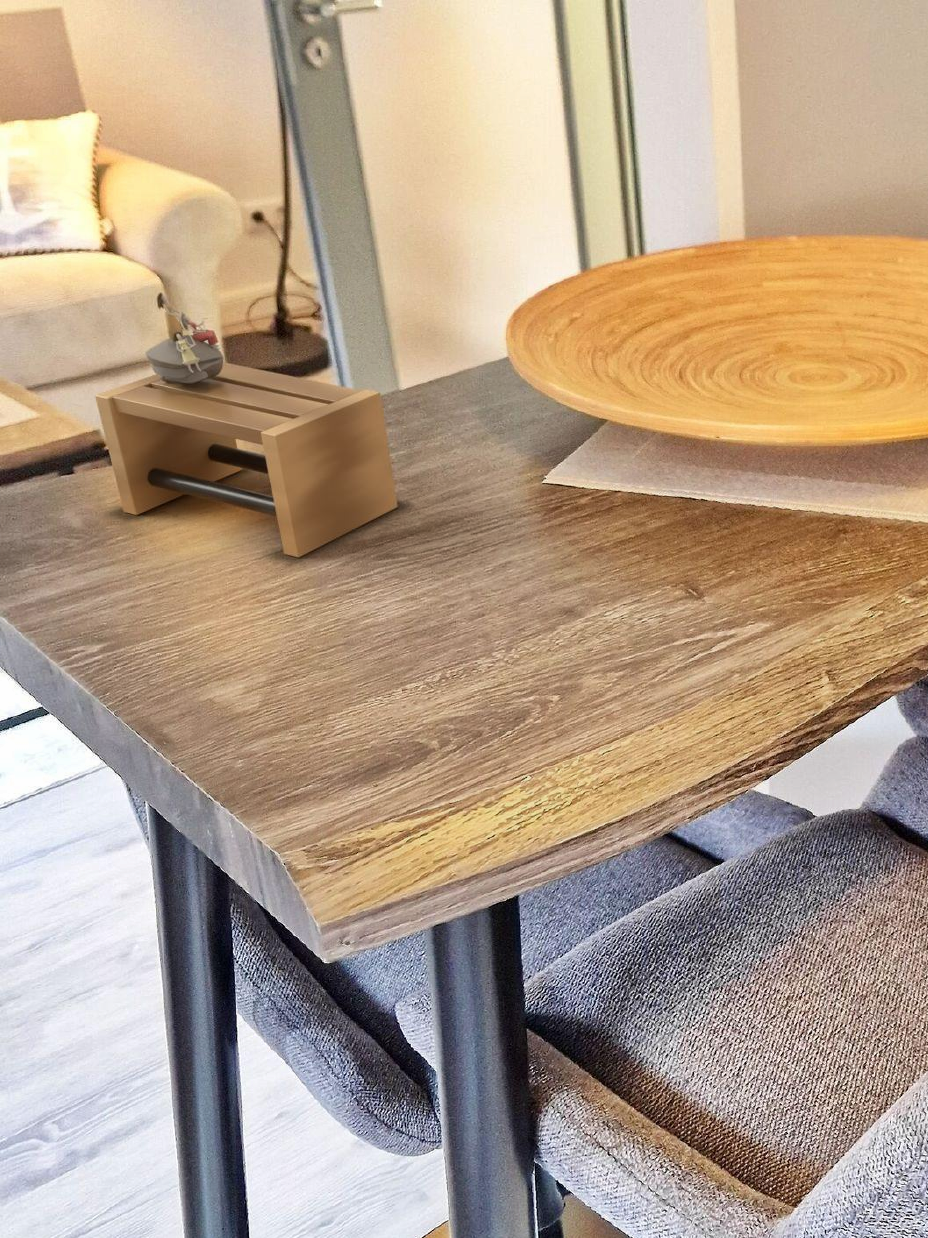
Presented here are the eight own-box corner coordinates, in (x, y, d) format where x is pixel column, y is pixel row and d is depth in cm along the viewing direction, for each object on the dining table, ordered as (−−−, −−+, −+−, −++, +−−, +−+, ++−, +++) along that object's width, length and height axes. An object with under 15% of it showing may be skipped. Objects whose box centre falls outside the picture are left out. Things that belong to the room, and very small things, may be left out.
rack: (298, 557, 93) (275, 435, 89) (123, 512, 98) (94, 395, 94) (397, 507, 100) (380, 392, 96) (229, 467, 105) (206, 356, 101)
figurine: (144, 378, 97) (123, 286, 94) (215, 367, 99) (197, 276, 96) (165, 401, 93) (144, 306, 90) (238, 389, 96) (220, 296, 93)
